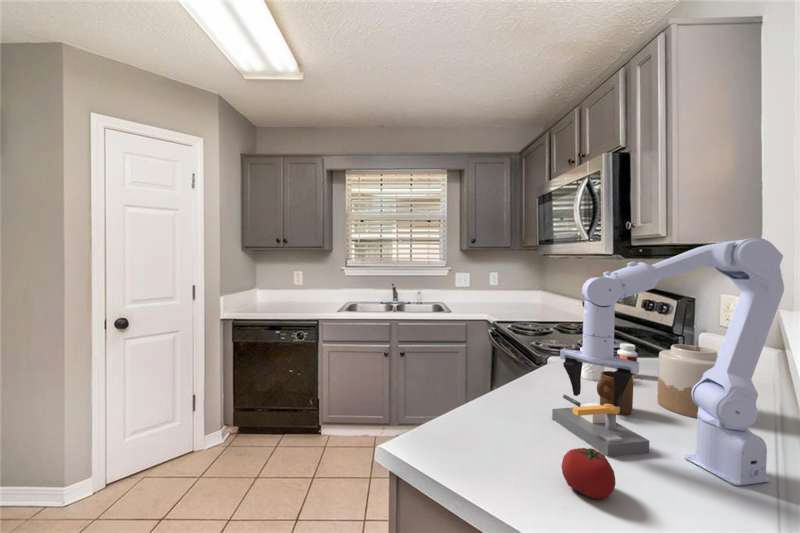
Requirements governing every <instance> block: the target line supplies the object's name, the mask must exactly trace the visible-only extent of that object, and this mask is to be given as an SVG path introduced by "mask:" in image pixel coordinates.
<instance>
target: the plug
mask: <svg viewBox="0 0 800 533" xmlns="http://www.w3.org/2000/svg"><path fill="white" fill-rule="evenodd" d="M562 398H563V399H564V400H566V401H568V402H570V403H571V404H574V406H576V407H584V406H600V403H597V402H586V403H585V402H582V403H581V402H580V401H577V400H576V399H574V398H572V397H570V396H568V395H567V394H563V396H562ZM581 417H583V418H584V419H586V420H588V421H589V422H591V423H605V417H606V414H596V415H582V416H581Z"/></svg>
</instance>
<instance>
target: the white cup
mask: <svg viewBox="0 0 800 533" xmlns="http://www.w3.org/2000/svg"><path fill="white" fill-rule="evenodd" d="M582 347H583V346H581V347H580V348H579V349H580V350H579V351H582ZM605 368H606V367H604V366H599V365H594V364H589V363H584V362H583V364H582V370H581V378H582V379H585V380H588V381H593V382H595V381H596V382H598V381H599V380H600V379H601V373H602V372H603V371H605Z"/></svg>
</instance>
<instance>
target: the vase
mask: <svg viewBox="0 0 800 533" xmlns="http://www.w3.org/2000/svg"><path fill="white" fill-rule="evenodd" d="M717 357H718V352H717V350H715V349H714V348H713V349H712V348H709V347H705V346H701V345H700V346H699V345H698V346H697V345H690V344H678V343H677V344H672V345H671V346H670V349H664V350H661V351H659V353H658V368H657V369H658V372H657V374H658V375H657V403H658V404H659V405H660V406H661V407H662V408H664V409H665V410H668V411H670V412H673V413H676V414H679V415H681V416H685V417H690V418H693V419H697V413H698V406H697V405H696V404H695V403H694V401H693V399H692V396H691V392H692V389H693V387H694V386H695V384H697V383H698V382H699V381H700V380H701V379H702V377H703V374H704V372H706V371H707V370H709V369H711V368H713V367H714V366H715V363H716V360H717Z"/></svg>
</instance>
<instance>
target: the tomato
mask: <svg viewBox="0 0 800 533" xmlns="http://www.w3.org/2000/svg"><path fill="white" fill-rule="evenodd" d="M561 470H562V471H561V472H562V475H563V478H564V480H565V481H566V484H567V486H569V487H570V488H571V489H572V490H574V491H577V492H579V493H581V494H582V495H583V496H586V497H588V498H589V499H596V500H597V499H598V500H604V499H606V498H608V497H609V496H610V495H611V494H612V493H613V492H614V490H615V487H616V483H617V482H616V476H615V471H614V469H613V467H612V465H611V463H610V462H609V460H608V459H607V456H606V455H604V454H603V453H601V452H600V451H598V450H597V449H595V448H592V447H591V448H590V447H589V448H585V447H578V448H573V449H569V450H568V451H567V452H566V453H565V454H564V455H563V458H562V462H561Z"/></svg>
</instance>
